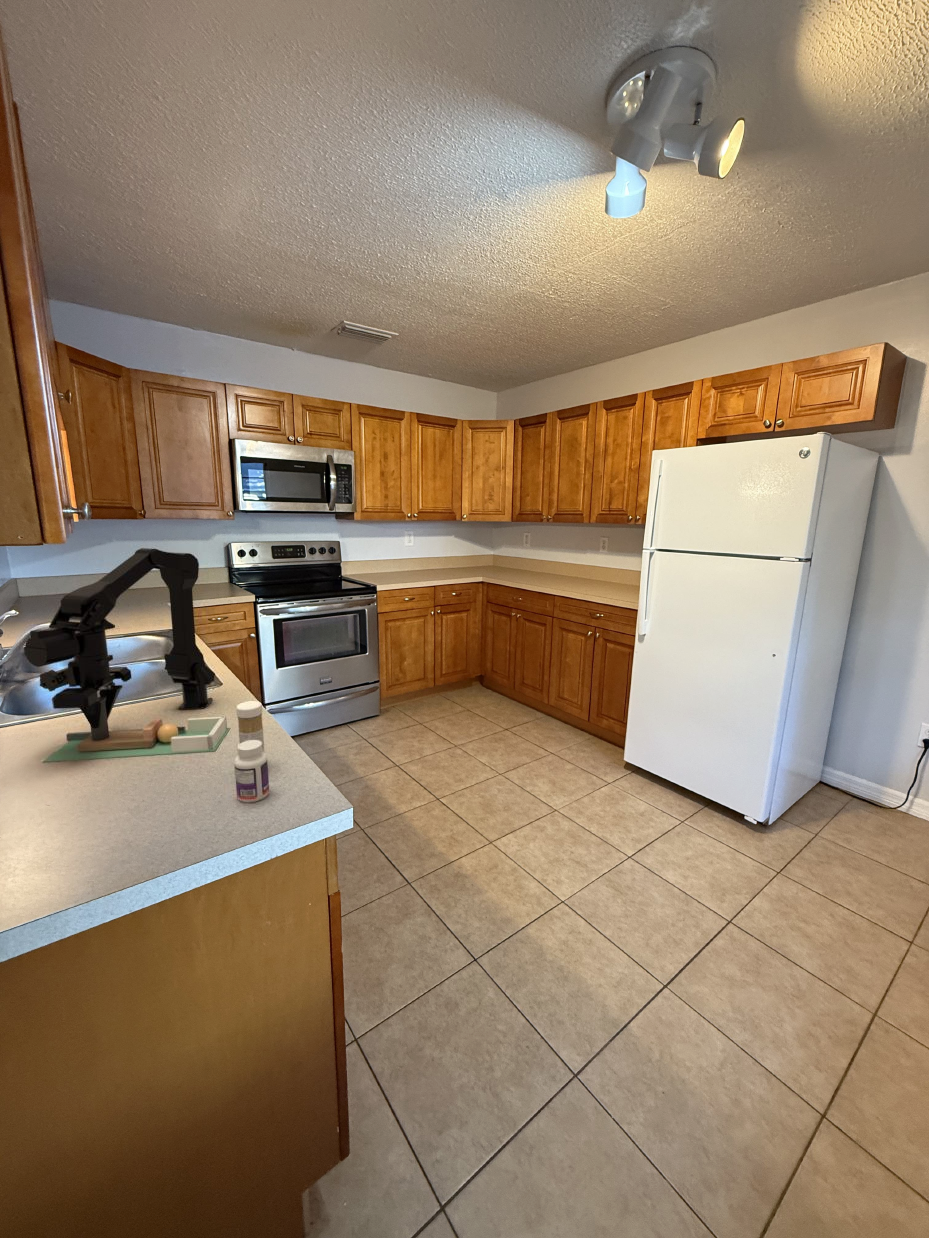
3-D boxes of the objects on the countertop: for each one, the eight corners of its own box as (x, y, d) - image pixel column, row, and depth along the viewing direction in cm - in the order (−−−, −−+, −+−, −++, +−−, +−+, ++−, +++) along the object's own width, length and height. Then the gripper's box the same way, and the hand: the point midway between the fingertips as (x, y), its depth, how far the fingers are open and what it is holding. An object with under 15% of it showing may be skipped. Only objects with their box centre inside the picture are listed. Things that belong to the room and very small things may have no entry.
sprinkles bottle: (261, 761, 102) (257, 698, 99) (269, 769, 98) (265, 705, 96) (237, 767, 99) (233, 703, 96) (244, 776, 95) (240, 710, 93)
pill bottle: (259, 783, 93) (256, 735, 91) (275, 794, 90) (272, 743, 88) (231, 795, 89) (227, 745, 87) (246, 807, 86) (242, 754, 84)
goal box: (189, 730, 115) (188, 718, 114) (227, 728, 116) (226, 716, 116) (171, 752, 104) (170, 738, 104) (213, 749, 106) (212, 736, 105)
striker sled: (93, 739, 109) (87, 697, 107) (163, 735, 111) (159, 694, 110) (78, 751, 103) (71, 708, 101) (152, 747, 106) (147, 704, 104)
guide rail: (69, 739, 109) (68, 732, 109) (185, 732, 114) (185, 726, 113) (67, 740, 108) (66, 734, 108) (184, 734, 113) (184, 727, 113)
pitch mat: (76, 736, 111) (75, 736, 111) (230, 728, 117) (229, 727, 117) (42, 762, 99) (42, 761, 99) (215, 751, 105) (215, 750, 105)
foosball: (157, 725, 110) (175, 718, 110) (167, 740, 111) (184, 733, 111) (150, 732, 106) (168, 725, 106) (159, 748, 107) (178, 740, 107)
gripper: (73, 643, 110) (82, 710, 113) (14, 667, 92) (27, 746, 95) (128, 642, 112) (136, 707, 115) (81, 666, 94) (92, 743, 97)
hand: (99, 724), depth 106 cm, fingers closed on striker sled, 3 cm apart
